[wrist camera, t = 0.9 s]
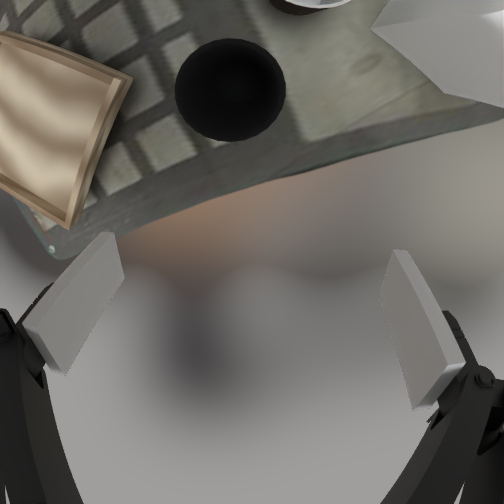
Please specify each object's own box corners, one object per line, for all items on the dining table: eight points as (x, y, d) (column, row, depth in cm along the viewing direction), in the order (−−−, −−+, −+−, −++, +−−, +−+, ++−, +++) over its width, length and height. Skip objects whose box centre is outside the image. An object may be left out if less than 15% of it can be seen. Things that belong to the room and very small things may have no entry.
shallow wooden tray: (33, 29, 21) (-7, 32, 15) (150, 75, 27) (121, 80, 21) (0, 144, 30) (-34, 164, 24) (97, 199, 36) (68, 230, 30)
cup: (291, 84, 28) (308, 95, 18) (238, 128, 31) (227, 162, 21) (241, 34, 25) (231, 17, 15) (189, 81, 28) (152, 92, 18)
